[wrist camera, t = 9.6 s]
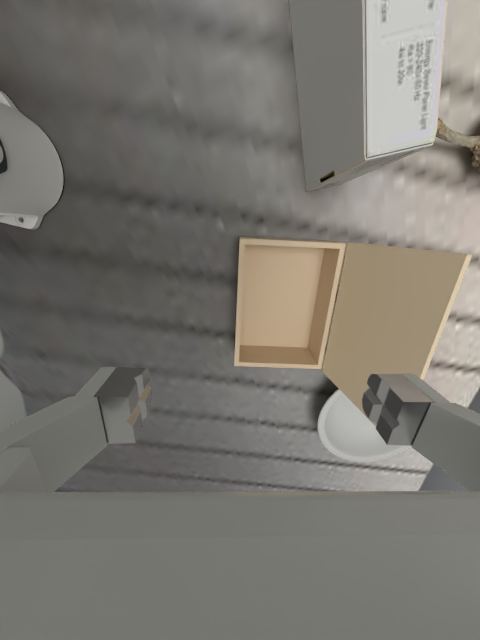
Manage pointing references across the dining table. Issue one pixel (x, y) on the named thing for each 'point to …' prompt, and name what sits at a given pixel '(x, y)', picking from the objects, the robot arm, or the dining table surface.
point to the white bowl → (352, 432)
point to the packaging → (365, 82)
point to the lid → (389, 313)
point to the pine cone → (460, 141)
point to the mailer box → (285, 301)
